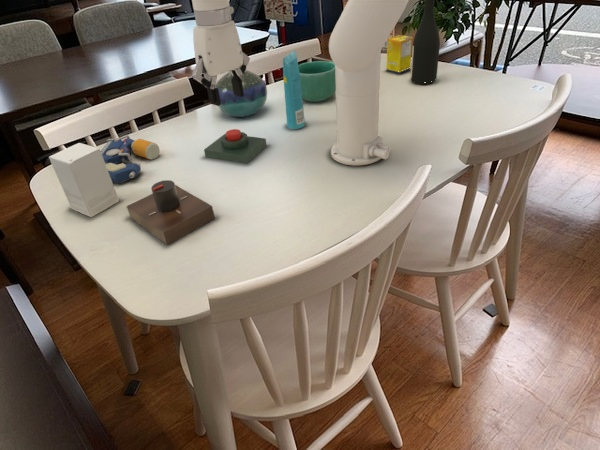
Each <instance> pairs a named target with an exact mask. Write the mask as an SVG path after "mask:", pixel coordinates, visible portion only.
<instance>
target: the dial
mask: <svg viewBox="0 0 600 450" xmlns="http://www.w3.org/2000/svg"><path fill="white" fill-rule="evenodd" d="M175 185H176V183H175V181H172V180H167V179H166V180H165V179H164V180H161V181H160V180H159V181H157V182H156V183H153V185H152V186H151V188H150V189H151V194H153V196H154V199H155V202H156V206H157V209H158V210H159V211H162V212H168V211H172V210H175V209H176V208H178V207H179V205H180V202H179V198H178V194H177V191H176V187H175Z"/></svg>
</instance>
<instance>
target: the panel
mask: <svg viewBox="0 0 600 450" xmlns="http://www.w3.org/2000/svg"><path fill="white" fill-rule="evenodd" d="M175 187H176V191H177V194H178V198H179V202H180V205H179V207H178V208H176V209H175V210H172V211H168V212H162V211H159V210H158V209H157V206H156V202H155V199H154V196H153V193H151V194H149V195H146V196H145V197H143V198H140V199H138V200H137V201H134V202H131V203H129V204H128V205H126V209H127V211H128V214H129V217H130V219H131V220H133V221H134V222H135V223H137V224H138V225H139V226H140V227H142V228H144V229H145V230H146V231H148V232H149V233H150V234H152V235H153V236H154V237H156V238H157V239H159V240H160V241H161V242H162V243H164V244H165V245H167V246H168V245H170V244H171V243H174V242H175V241H177V240H179V239H180V238H182V237H184V236H186V235H188V234H190V233H192V232H194V231H195V230H197V229H199V228H200V227H202V226H205V225H206V224H207V223H209V222H211V221H213V220H215V219H216V217H215V213H214V208H213V205H211V204H209V203H208V202H207V201H204V200H202V199H201V198H199V197H197V196H195V195H194V194H192V193H190V192H188V191H187V190H185V189H183V188H182V187H180V186H179V185H176V184H175Z"/></svg>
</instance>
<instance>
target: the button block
mask: <svg viewBox="0 0 600 450" xmlns="http://www.w3.org/2000/svg"><path fill="white" fill-rule="evenodd" d="M267 147H268V146H267V138H265V137H259V136H258V137H256V136H250V135H248V134H247V133H246V132H245V131H244V132H243V131H241V139H239V140H236V141H228V140H227V137H226V132H225V133H224V134H222V135H221V136H220V137H219V138H217V139H216V140H214V141H213V142H212V143H211V144H209V145H208V146H206V147H205V148H204V150H203V152H204V156H205V158H207V159H212V160H220V161H225V162H231V163H238V164H245V165H248V164H249V163H250V162H251V161H252V160H253V159H255V158H256V157H257V156H258V155H259V154H261V152H262V151H263V150H264V149H266V148H267Z"/></svg>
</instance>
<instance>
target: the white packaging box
mask: <svg viewBox="0 0 600 450" xmlns="http://www.w3.org/2000/svg"><path fill="white" fill-rule="evenodd" d="M48 159H49V161H50V163H51V166H52V168H53V171H54V173H55V174H56V177H57V179H58V181H59V182H58V183H60V186H61V188H62V190H63V193H64V195H65V197H66V199H67V202H68V204H69V206H70V209H71V210H73V211H75V212H78V213H80V214H82V215H85V216H88V217H90V218H93V217H95V216H97V215H99V214H100V213H102V212H104V211H105V210H107V209H108V208H111V207H112V206H113V205H115V204H117V203H118V202H119V201H120V199H119V197H118V194H117V191H116V188H115V186H114V184H113V183H114V182H112V180H111V178H110V175H109V172H108V170H107V167H106V164H105V162H104V159H103V156H102V153H101V148H100V147H95V146H91V145H88V144H85V143H82V142H78V143H75V144H73V145H71V146H68V147H66V148H64V149H62V150H60V151H57V152H56V153H53V154H52V155H49V156H48Z"/></svg>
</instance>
